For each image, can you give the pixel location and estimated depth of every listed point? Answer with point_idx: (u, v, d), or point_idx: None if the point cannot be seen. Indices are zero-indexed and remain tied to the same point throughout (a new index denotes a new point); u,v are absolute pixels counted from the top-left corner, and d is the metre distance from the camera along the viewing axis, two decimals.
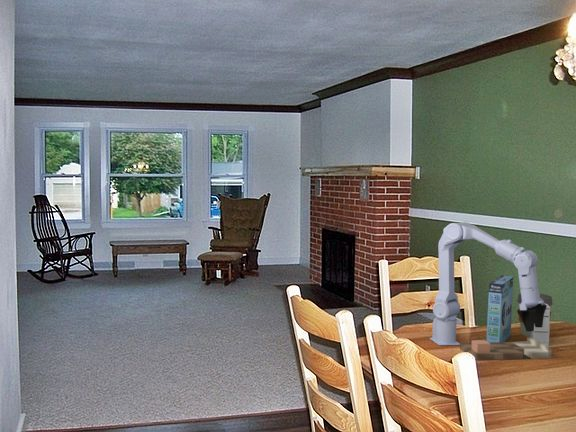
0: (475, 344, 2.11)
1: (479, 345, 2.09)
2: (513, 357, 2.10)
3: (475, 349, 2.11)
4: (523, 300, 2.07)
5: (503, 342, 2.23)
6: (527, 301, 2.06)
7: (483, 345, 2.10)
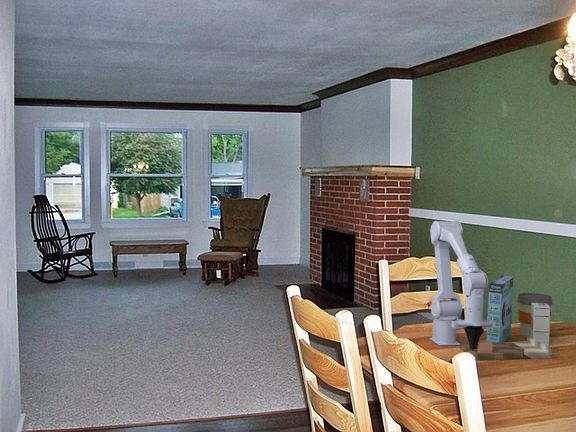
0: (477, 344, 2.11)
1: (481, 345, 2.10)
2: (513, 357, 2.10)
3: (477, 349, 2.11)
4: None
5: (503, 342, 2.23)
6: (465, 320, 2.11)
7: (485, 345, 2.10)
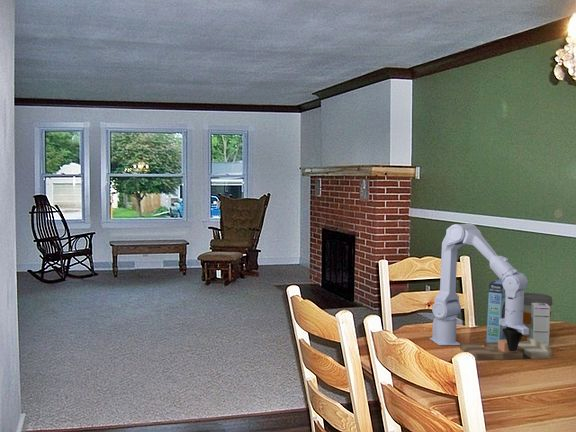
0: (502, 343, 2.12)
1: (506, 344, 2.11)
2: (513, 357, 2.10)
3: (502, 348, 2.12)
4: None
5: None
6: None
7: None
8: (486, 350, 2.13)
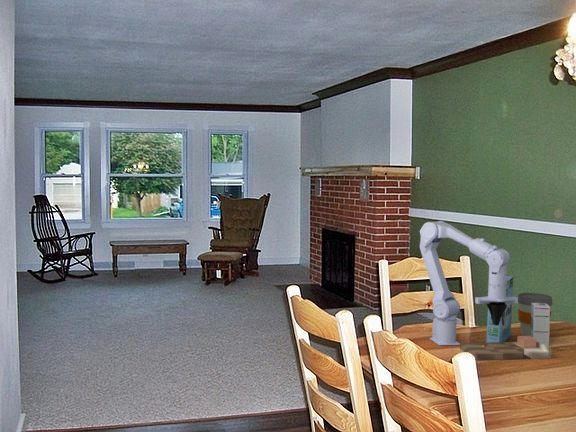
0: (521, 339, 2.18)
1: (525, 341, 2.16)
2: (513, 357, 2.10)
3: (521, 344, 2.18)
4: (488, 295, 2.17)
5: (503, 342, 2.23)
6: (488, 296, 2.15)
7: (529, 340, 2.17)
8: (486, 350, 2.13)
